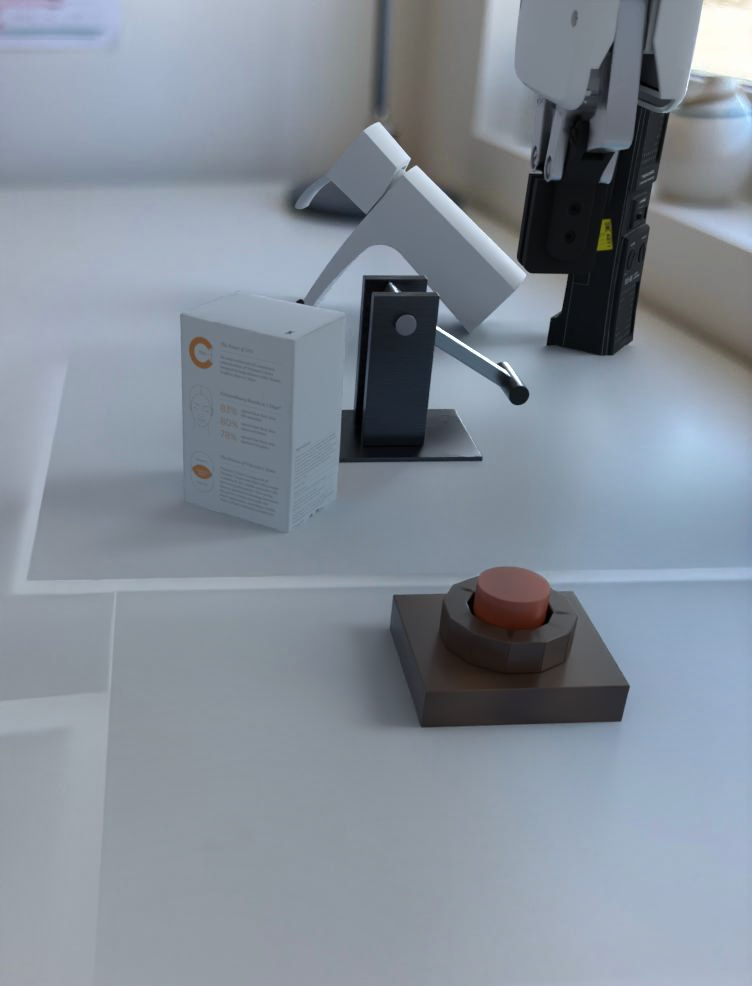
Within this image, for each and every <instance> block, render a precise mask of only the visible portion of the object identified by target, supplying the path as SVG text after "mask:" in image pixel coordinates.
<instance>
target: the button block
mask: <svg viewBox="0 0 752 986" xmlns="http://www.w3.org/2000/svg"><path fill="white" fill-rule="evenodd" d="M478 576H479V575H476V576H473V577H470V578H468V579H467V578H466V579H465V580H462V581H459V582H456V583H454V584H452V586H451V587H450V588H449V590H448V591H447V593H410V594H409V593H408V594H406V593H405V594H401V593H400V594H393V595H392V602H391V609H390V610H391V611H390V620H389V621H390V622H389V630H390V634H391V637H392V639H393V643H394V646H395V649H396V652H397V656H398V658H399V662H400V665H401V669H402V671H403V674H404V678H405V680H406V684H407V687H408V690H409V693H410V696H411V699H412V702H413V706H414V709H415V712H416V716H417V718H418V721H419V724H420V727H421V728H449V727H450V728H451V727H452V728H455V727H483V726H487V727H488V726H516V725H517V726H520V725H548V724H549V725H550V724H551V725H553V724H581V723H582V724H583V723H610V722H611V723H613V722H614V723H615V722H617V723H618V722H623V721H622V720H623V717H624V713H625V709H626V704H627V701H628V696H629V692H630V688H631V685H630V683H629V682H628V680H627V678H626V677H625V675H624V673H623V672H622V670H621V668H620V667H619V665H618V663H617V662H616V660H615V658H614V657H613V655H612V653H611V652H610V650H609V648H608V647H607V644H605V642H604V640H603V639H602V637H601V635H600V633H599V632H598V630H597V629H596V628H597V627H596V626H595V625H594V624H593V622H592V620H591V618H590V617H589V614H588V613H587V612H586V610H585V608H584V607H583V605H582V604H581V602H580V600H579V599H578V596H577V595H576V593H575V591H573V590H555V589H554V588H552V587H550V588H551V591H550V596H549V602H548V607H547V612H546V618H545V621H544V623H543V624H542V625H541V626H540V627H538V628H535V629H533V630H508V629H504V628H500V627H496V626H492V625H488V624H486V623H485V622H483V621H482V620H480V619H478V618H477V617H475V615H474V612H473V605H474V598H475V591H476V584H477V578H478Z"/></svg>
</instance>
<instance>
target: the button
mask: <svg viewBox="0 0 752 986" xmlns="http://www.w3.org/2000/svg"><path fill="white" fill-rule="evenodd" d="M477 576H478V578H477V584H476V591H475V598H474V605H473V612H474V615H475V617H477V618H478V619H480V620H482V621H483V622H485V623H486V624H488V625H492V626H496V627H500V628H504V629H508V630H533V629H535V628H538V627H540V626H541V625H542V624H543V623H544V621H545V618H546V612H547V607H548V602H549V596H550V591H551V588H552V587H551V585H550V582H549V581H548V580H547V579H546V578H545V577H544V576H542V575H540V574H539V573H537V572H535V571H533V570H530V569H528V568H523V567H517V566H509V565H507V566H495V567H491V568H487V569H485V570H484V571H482V572H481V573H480V574H479V575H477Z"/></svg>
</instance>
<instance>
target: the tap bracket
mask: <svg viewBox="0 0 752 986" xmlns="http://www.w3.org/2000/svg"><path fill="white" fill-rule="evenodd" d="M389 282H390V283H392V284H393V285H395V286H396V287H398V288H400V289H401V290H403V291H404V292H383V291H384V289H385V288H386V286H387V285H388V283H389ZM427 283H428V279H427V278H426V276H425V275H418V274H417V275H415V274H413V275H412V274H411V275H409V274H408V275H407V274H406V275H405V274H404V275H402V274H401V275H397V274H396V275H395V274H394V275H393V274H387V275H385V274H369V275H368V274H363V275H362V282H361V294H360V296H361V297H360V311H359V325H358V326H359V327H358V339H357V353H356V367H355V368H356V369H355V379H354V380H355V383H354V396H353V397H354V398H353V408H352V409H342V412H341V436H340V453H339V464H340V463H406V462H407V463H419V462H420V463H423V462H425V463H427V462H431V463H432V462H435V463H437V462H483V460H484V458H483V457H484V456H483V455H482V453H481V451H480V450H479V449H478V447H477V445H476V442H475V441H474V440H473V438H472V437H471V434H470V433H469V431H468V429H467V427H466V426H465V424H464V423H463V421H462V419H461V417H460V416H459V413H458V412H457V410H456V409H455V408H429V403H430V402H429V400H430V392H431V383H432V375H433V374H432V373H433V365H434V354H435V347H436V346H435V337H436V328H437V327H438V317H439V308H440V301H441V300H440V296H439V295H438V293H437V292H433V291H428V285H427ZM370 310H371V312H370Z"/></svg>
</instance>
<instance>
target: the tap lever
mask: <svg viewBox="0 0 752 986" xmlns="http://www.w3.org/2000/svg"><path fill="white" fill-rule="evenodd" d="M383 292H404V291H403V290H401V289H400V288H398V287H396V286H395V285H393V284H392V283H390V282H389V283H388V285H387V286H386V288H385V289H384V291H383ZM370 312H371V310H370ZM434 347H436V348H438V349H439V350H441V351H443V352H444V353H446V354H448V355H449V356H450V357H452V358H454V359H455V360H457V361H459V362H460V363H462V364H464V365H465V366H466V367H468V368H469V369H471V370H473V371H474V372H476V373H478V374H479V375H481V376H482V377H484V378H485V379H487V380H489V381H490V382H492V383H493V384H495V385H496V386H498V387H499V388H500V389H501V391H502V393H504V395H505V396H506V398H507V399H508V401H509V402H510V403H511V404H512V405H513V406H523V405H525V403H527V401H528V400H529V398H530V390H529V389H528V387H527V386H526V384H524V382H523V381H522V379H521V378H520V376H518V374H517V373H516V371H515V370H514V369H513V367H512V366H511V365H510V363H508V362H506V361H500V362H497V363H495V362H493V361H492V360H490V359H489V358H487V357H486V356H484V355H482V354H481V353H479V352H478V351H476V350H474V348H472V347H470V346H468V345H467V344H465V343H464V342H462V341H461V340H459V339H457V338H456V337H454V336H453V335H451V334H450V333H448V332H446V331H445V330H444V329H442V328H440V327H439V326H437V328H436V337H435V346H434Z"/></svg>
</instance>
